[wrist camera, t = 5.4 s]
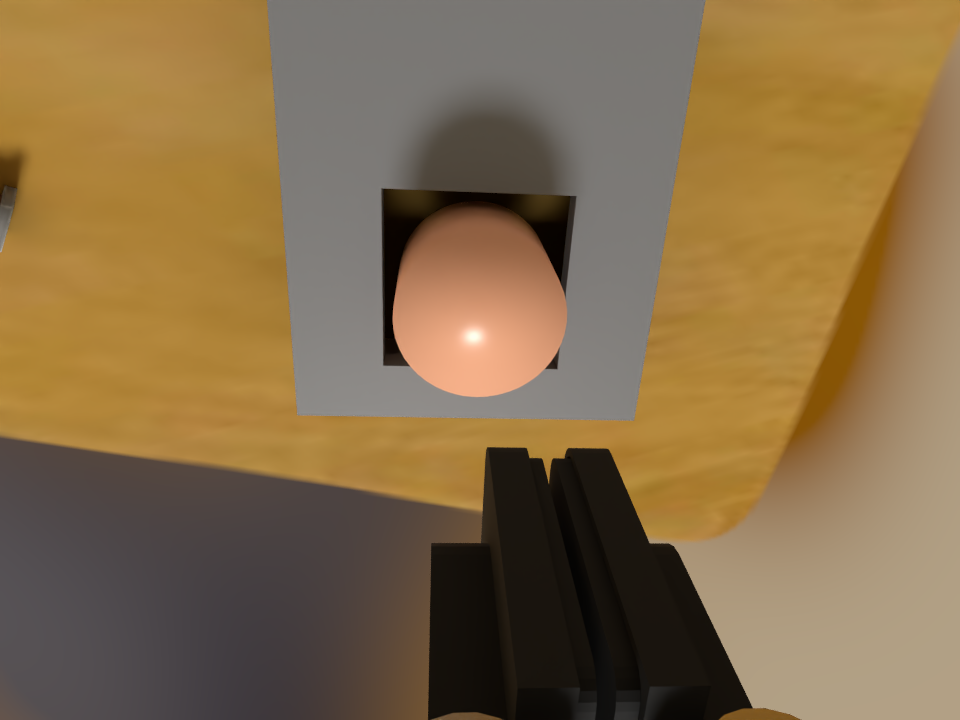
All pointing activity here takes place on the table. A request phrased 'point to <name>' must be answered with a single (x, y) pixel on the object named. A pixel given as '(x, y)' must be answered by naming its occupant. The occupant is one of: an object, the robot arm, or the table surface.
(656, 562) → the robot arm
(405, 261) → the terracotta plunger
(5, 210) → the wooden post with brackets
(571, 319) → the button housing
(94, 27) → the table surface
